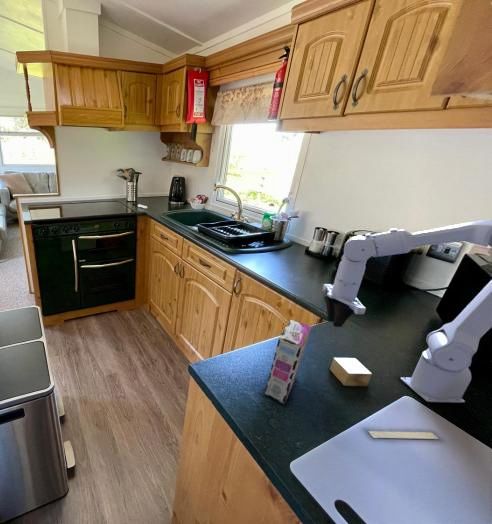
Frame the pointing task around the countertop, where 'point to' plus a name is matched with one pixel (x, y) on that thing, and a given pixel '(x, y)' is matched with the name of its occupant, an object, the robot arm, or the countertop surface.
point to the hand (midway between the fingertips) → (334, 323)
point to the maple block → (350, 372)
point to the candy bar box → (287, 360)
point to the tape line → (403, 435)
